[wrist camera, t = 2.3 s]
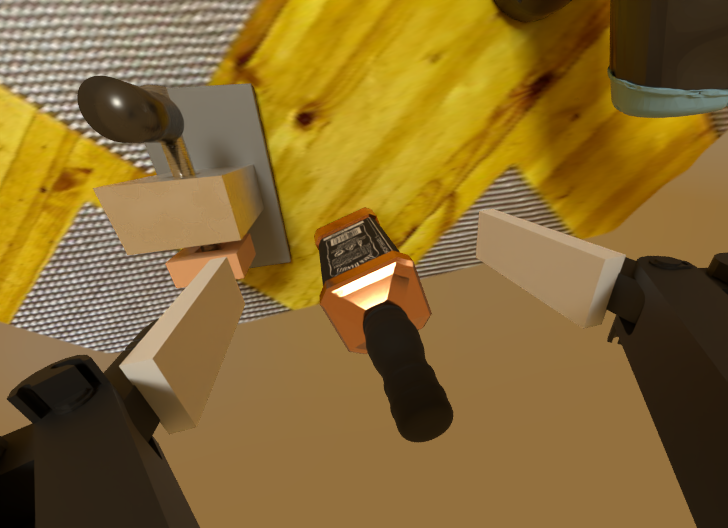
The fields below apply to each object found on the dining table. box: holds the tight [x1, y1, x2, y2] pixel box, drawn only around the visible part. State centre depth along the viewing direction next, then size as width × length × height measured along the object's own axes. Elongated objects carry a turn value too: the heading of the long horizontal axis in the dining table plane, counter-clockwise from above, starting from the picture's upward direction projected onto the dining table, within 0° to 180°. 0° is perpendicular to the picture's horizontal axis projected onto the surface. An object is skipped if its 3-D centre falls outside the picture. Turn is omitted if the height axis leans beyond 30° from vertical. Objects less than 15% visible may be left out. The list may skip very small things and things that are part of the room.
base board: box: [145, 84, 291, 268], centre depth 36 cm, size 24×14×2 cm, turn 5°
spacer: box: [165, 233, 256, 288], centre depth 31 cm, size 3×7×7 cm, turn 95°
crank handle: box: [78, 76, 222, 252], centre depth 25 cm, size 20×4×8 cm, turn 5°
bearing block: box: [93, 164, 264, 255], centre depth 29 cm, size 6×10×14 cm, turn 95°
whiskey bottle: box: [314, 207, 453, 442], centre depth 30 cm, size 10×10×32 cm
